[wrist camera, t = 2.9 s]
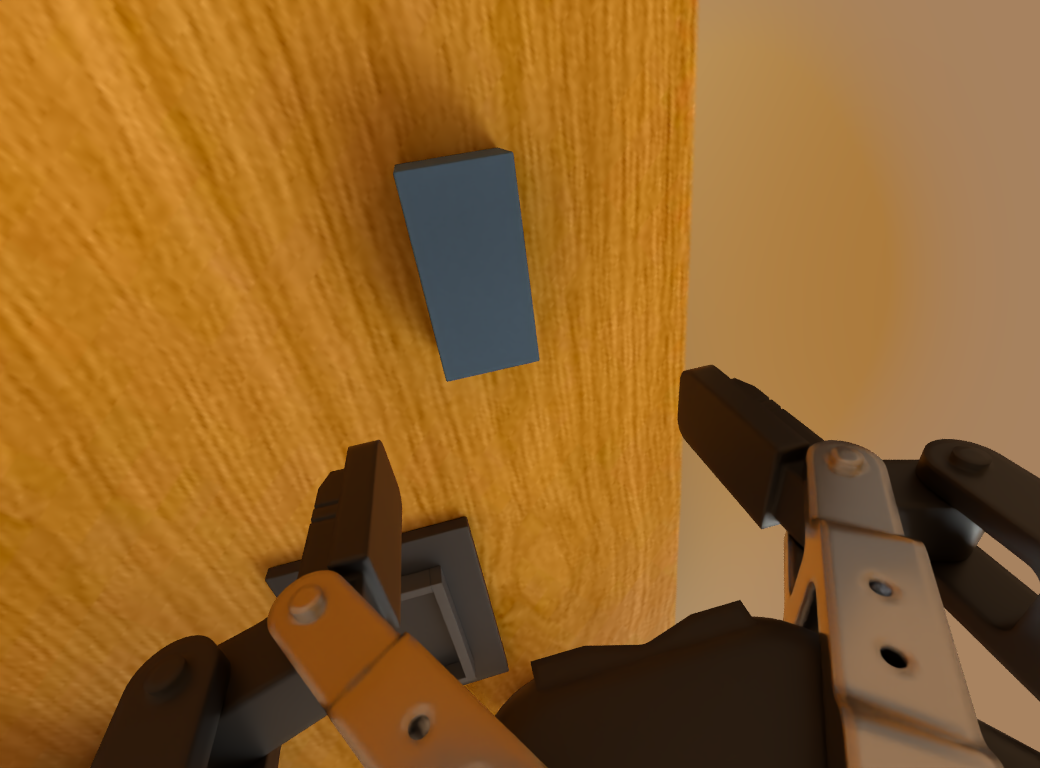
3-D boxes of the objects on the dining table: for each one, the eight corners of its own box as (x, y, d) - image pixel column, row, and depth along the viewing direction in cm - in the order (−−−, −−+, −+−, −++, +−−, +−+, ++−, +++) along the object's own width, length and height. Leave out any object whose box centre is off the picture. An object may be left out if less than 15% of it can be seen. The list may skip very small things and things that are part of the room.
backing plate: (507, 660, 44) (512, 688, 42) (359, 705, 42) (356, 736, 40) (466, 515, 33) (470, 542, 31) (267, 568, 32) (258, 600, 30)
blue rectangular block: (524, 334, 27) (539, 361, 24) (441, 352, 27) (446, 382, 24) (498, 147, 22) (513, 151, 19) (394, 164, 21) (392, 171, 18)
